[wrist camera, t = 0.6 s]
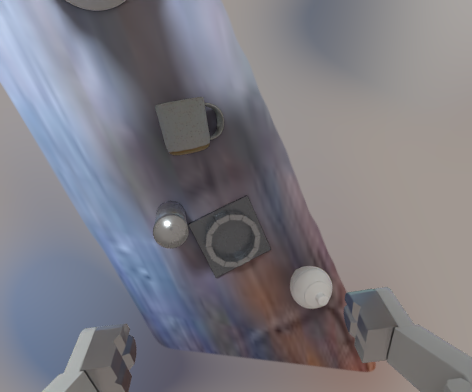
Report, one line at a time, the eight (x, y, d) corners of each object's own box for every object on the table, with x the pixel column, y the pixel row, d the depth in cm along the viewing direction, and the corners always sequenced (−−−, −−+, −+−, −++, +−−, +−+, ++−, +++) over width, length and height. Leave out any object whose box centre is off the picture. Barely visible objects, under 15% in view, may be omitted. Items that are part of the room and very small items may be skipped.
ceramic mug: (168, 155, 52) (168, 159, 45) (155, 106, 50) (153, 102, 43) (226, 141, 54) (236, 143, 47) (216, 94, 52) (225, 88, 45)
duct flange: (188, 223, 56) (189, 228, 53) (246, 195, 57) (250, 198, 54) (215, 276, 59) (217, 282, 56) (270, 248, 60) (274, 253, 58)
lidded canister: (150, 208, 54) (146, 225, 44) (177, 195, 54) (179, 209, 45) (164, 233, 55) (163, 254, 45) (190, 220, 56) (194, 239, 46)
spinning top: (277, 255, 61) (302, 284, 49) (312, 249, 62) (344, 276, 51) (278, 289, 63) (302, 325, 51) (312, 283, 64) (344, 317, 53)
